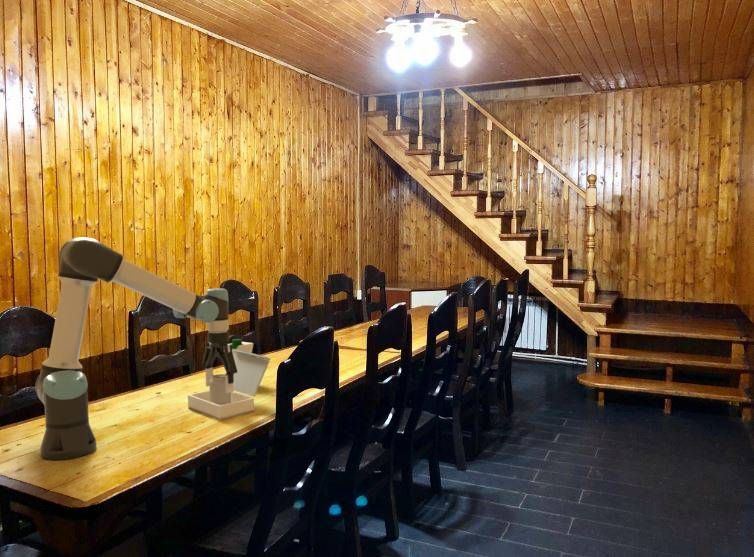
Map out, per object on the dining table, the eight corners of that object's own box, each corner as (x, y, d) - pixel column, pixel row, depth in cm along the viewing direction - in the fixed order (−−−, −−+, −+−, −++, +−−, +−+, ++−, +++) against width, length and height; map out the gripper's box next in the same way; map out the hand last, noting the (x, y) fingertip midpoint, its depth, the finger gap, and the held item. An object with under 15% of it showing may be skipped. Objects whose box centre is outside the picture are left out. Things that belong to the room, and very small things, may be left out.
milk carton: (226, 386, 266) (225, 339, 264) (241, 382, 273) (240, 336, 271) (241, 389, 261) (240, 341, 259) (257, 384, 268) (255, 338, 267)
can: (225, 411, 227) (224, 378, 226) (206, 410, 228) (205, 377, 227) (234, 405, 234) (233, 373, 233) (216, 404, 236) (214, 372, 235)
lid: (266, 356, 231) (270, 358, 233) (232, 348, 247) (237, 351, 248) (249, 394, 227) (254, 396, 228) (216, 384, 242) (221, 386, 244)
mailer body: (220, 420, 219) (219, 406, 218) (188, 408, 234) (187, 394, 234) (254, 411, 229) (253, 398, 228) (221, 400, 244) (221, 387, 244)
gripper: (246, 333, 223) (247, 393, 225) (209, 326, 240) (210, 381, 242) (228, 336, 218) (229, 397, 219) (191, 328, 235) (192, 384, 237)
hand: (219, 388), depth 231 cm, fingers open, 13 cm apart
